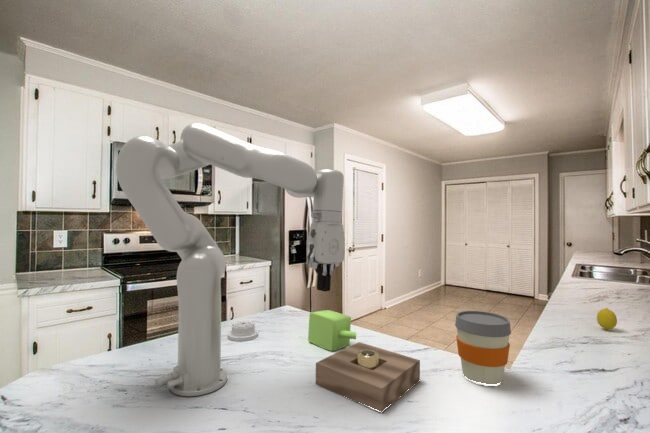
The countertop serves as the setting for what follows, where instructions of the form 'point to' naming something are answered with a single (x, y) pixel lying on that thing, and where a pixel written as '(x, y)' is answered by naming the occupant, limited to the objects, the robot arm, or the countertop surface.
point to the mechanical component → (243, 331)
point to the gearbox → (330, 329)
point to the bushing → (368, 359)
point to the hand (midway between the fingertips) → (323, 290)
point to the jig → (368, 376)
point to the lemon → (606, 319)
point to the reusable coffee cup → (483, 345)
